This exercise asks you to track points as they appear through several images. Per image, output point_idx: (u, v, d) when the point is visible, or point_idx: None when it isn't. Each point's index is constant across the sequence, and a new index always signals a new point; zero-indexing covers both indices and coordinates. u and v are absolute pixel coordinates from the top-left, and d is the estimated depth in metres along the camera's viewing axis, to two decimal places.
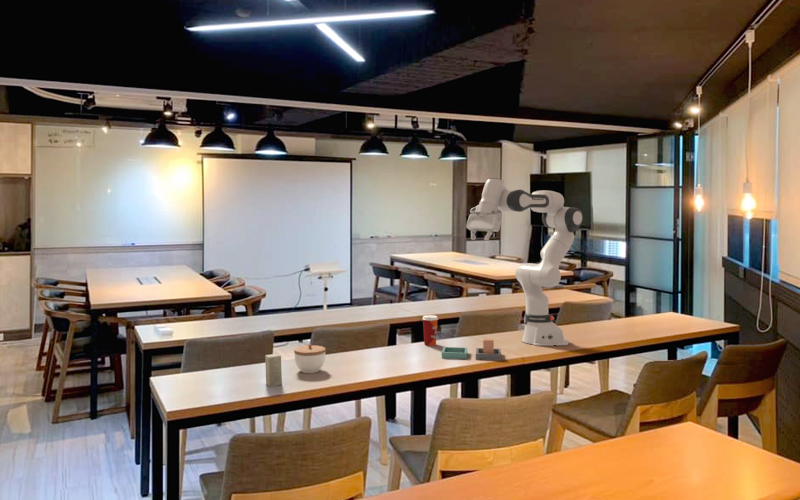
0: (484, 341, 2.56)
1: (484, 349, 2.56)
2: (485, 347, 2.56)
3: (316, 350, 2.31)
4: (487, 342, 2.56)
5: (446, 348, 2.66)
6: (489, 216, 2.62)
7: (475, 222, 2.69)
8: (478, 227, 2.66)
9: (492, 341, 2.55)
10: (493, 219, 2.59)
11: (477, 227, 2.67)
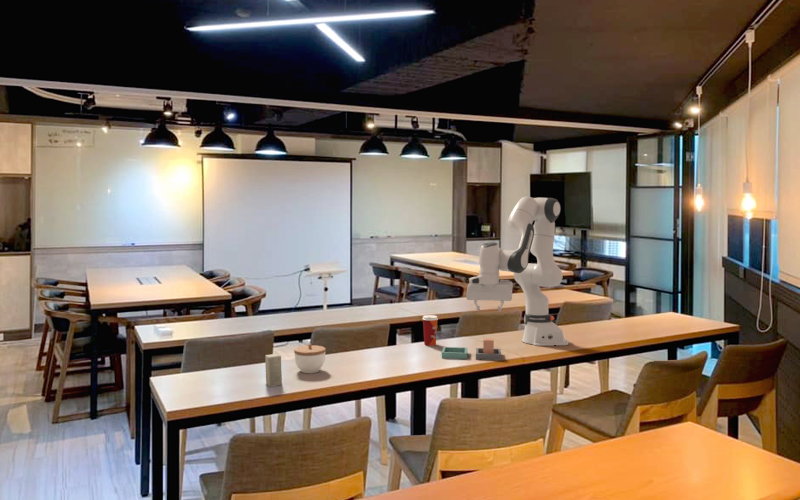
0: (484, 341, 2.56)
1: (484, 349, 2.56)
2: (485, 347, 2.56)
3: (316, 350, 2.31)
4: (487, 342, 2.56)
5: (446, 348, 2.66)
6: (500, 287, 2.54)
7: (480, 293, 2.56)
8: (486, 298, 2.55)
9: (492, 341, 2.55)
10: (507, 290, 2.54)
11: (485, 298, 2.55)
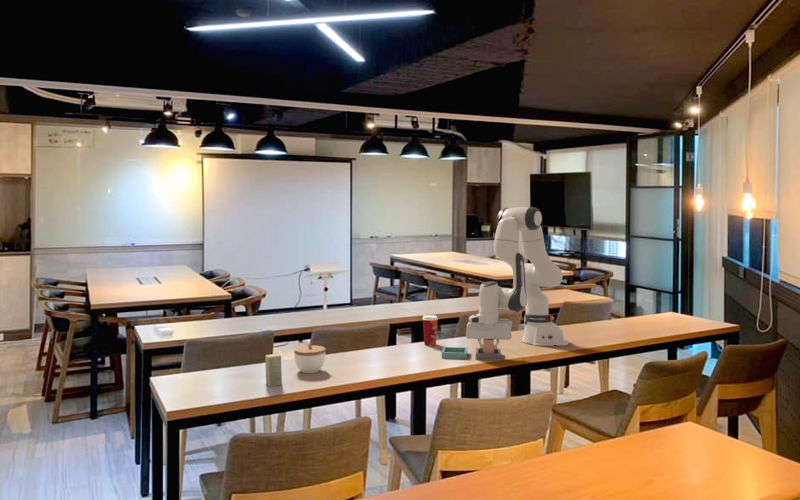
0: (484, 341, 2.56)
1: (484, 349, 2.56)
2: (485, 347, 2.56)
3: (316, 350, 2.31)
4: (487, 342, 2.56)
5: (446, 348, 2.66)
6: (499, 326, 2.55)
7: (479, 332, 2.57)
8: (486, 337, 2.56)
9: (492, 341, 2.55)
10: (507, 329, 2.55)
11: (485, 337, 2.56)
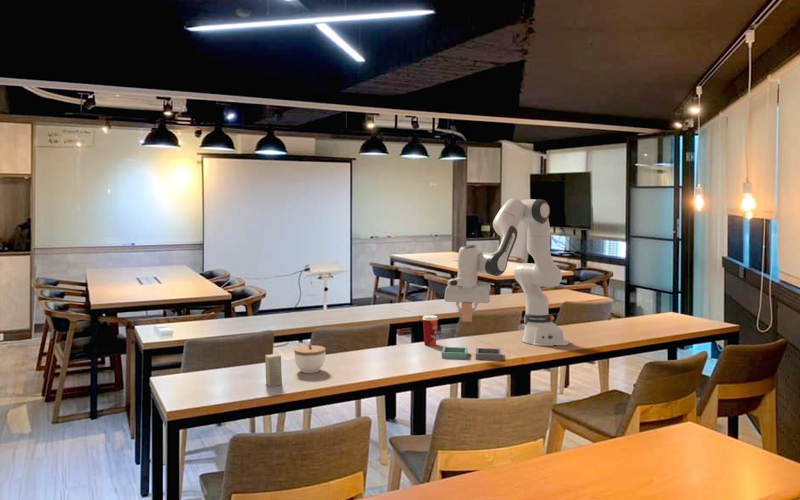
0: (462, 304, 2.56)
1: (462, 312, 2.56)
2: (463, 311, 2.56)
3: (316, 350, 2.31)
4: (465, 305, 2.56)
5: (446, 348, 2.66)
6: (478, 289, 2.55)
7: (458, 295, 2.57)
8: (464, 300, 2.56)
9: (470, 304, 2.55)
10: (485, 292, 2.55)
11: (463, 301, 2.56)
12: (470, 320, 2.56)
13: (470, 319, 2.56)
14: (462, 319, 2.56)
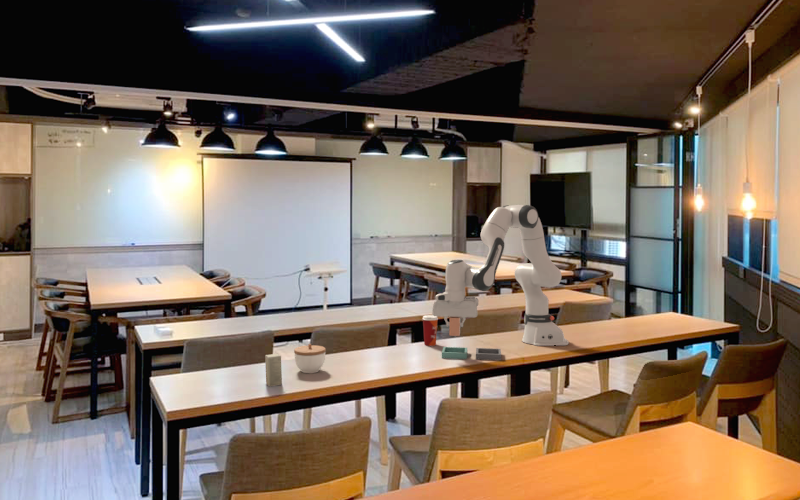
0: (450, 319, 2.57)
1: (450, 327, 2.58)
2: (451, 325, 2.57)
3: (316, 350, 2.31)
4: (453, 320, 2.57)
5: (446, 348, 2.66)
6: (465, 303, 2.57)
7: (446, 310, 2.58)
8: (452, 315, 2.58)
9: (458, 319, 2.57)
10: (473, 307, 2.56)
11: (451, 315, 2.58)
12: (458, 334, 2.57)
13: (458, 333, 2.57)
14: (450, 333, 2.58)
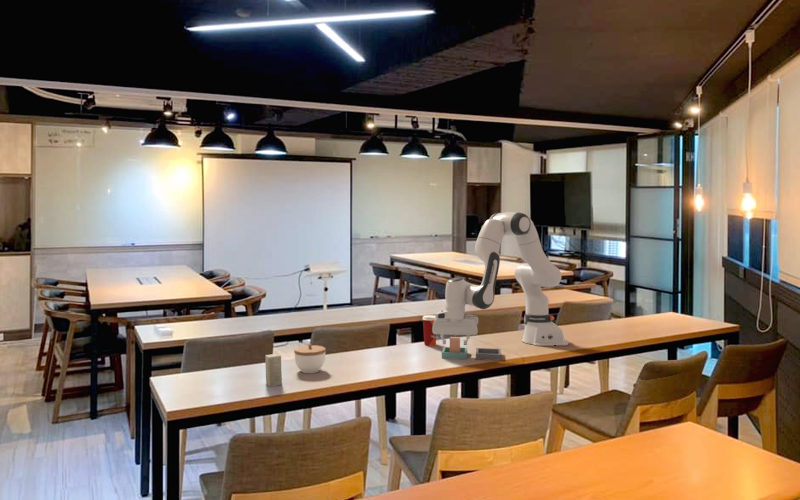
0: (450, 340, 2.58)
1: (450, 348, 2.58)
2: (451, 346, 2.58)
3: (316, 350, 2.31)
4: (453, 341, 2.58)
5: (446, 348, 2.66)
6: (465, 321, 2.57)
7: (446, 327, 2.59)
8: (452, 333, 2.58)
9: (458, 340, 2.58)
10: (473, 325, 2.57)
11: (451, 333, 2.58)
12: None
13: None
14: None
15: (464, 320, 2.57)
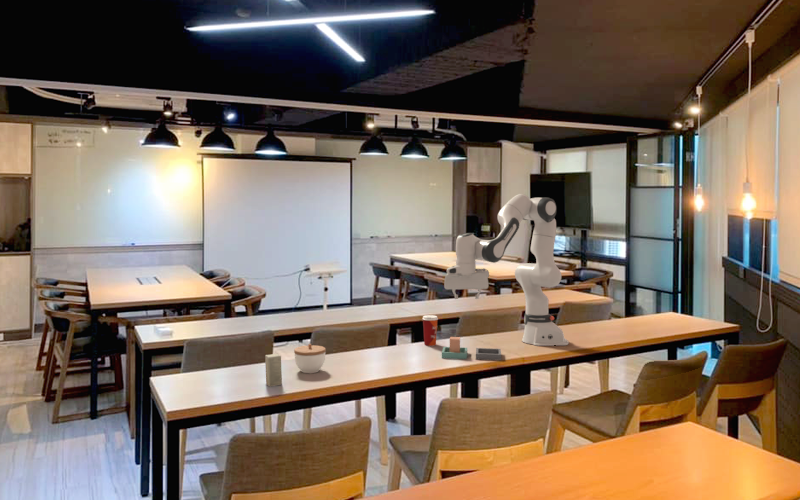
0: (450, 340, 2.58)
1: (450, 348, 2.58)
2: (451, 346, 2.58)
3: (316, 350, 2.31)
4: (453, 341, 2.58)
5: (446, 348, 2.66)
6: (476, 276, 2.62)
7: (457, 282, 2.64)
8: (464, 287, 2.63)
9: (458, 340, 2.58)
10: (484, 278, 2.62)
11: (463, 287, 2.63)
12: None
13: None
14: None
15: (475, 274, 2.62)
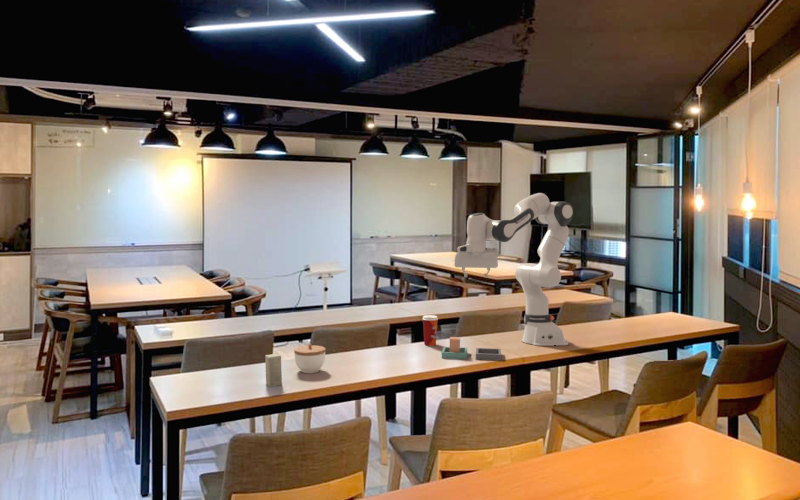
0: (450, 340, 2.58)
1: (450, 348, 2.58)
2: (451, 346, 2.58)
3: (316, 350, 2.31)
4: (453, 341, 2.58)
5: (446, 348, 2.66)
6: (486, 254, 2.68)
7: (467, 261, 2.69)
8: (473, 266, 2.69)
9: (458, 340, 2.58)
10: (493, 257, 2.67)
11: (472, 266, 2.69)
12: None
13: None
14: None
15: (485, 253, 2.68)
